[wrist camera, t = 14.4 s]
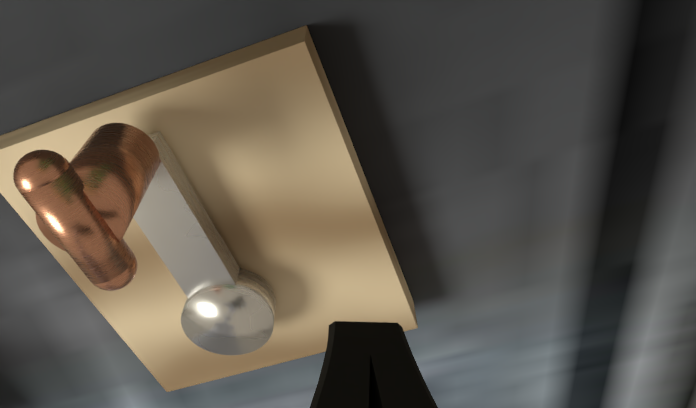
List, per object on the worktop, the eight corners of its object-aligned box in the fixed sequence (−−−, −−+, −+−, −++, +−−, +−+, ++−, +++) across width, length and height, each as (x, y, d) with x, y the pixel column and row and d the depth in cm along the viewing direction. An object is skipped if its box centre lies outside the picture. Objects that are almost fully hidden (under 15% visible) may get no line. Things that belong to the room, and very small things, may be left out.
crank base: (413, 300, 23) (417, 327, 22) (175, 363, 25) (166, 392, 24) (306, 25, 17) (304, 41, 16) (-4, 136, 19) (-27, 159, 17)
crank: (289, 319, 21) (279, 435, 17) (212, 339, 22) (184, 456, 18) (146, 61, 16) (81, 145, 12) (47, 97, 16) (-50, 189, 12)
